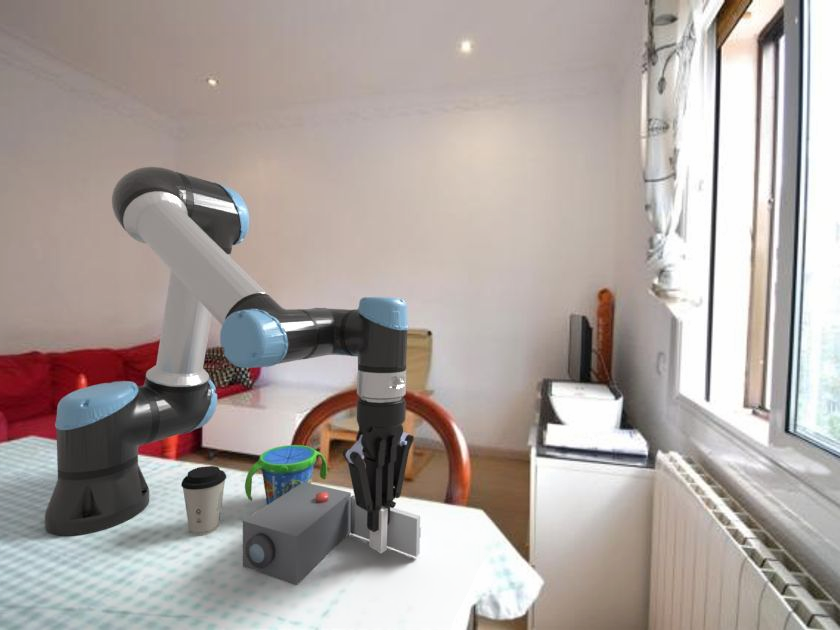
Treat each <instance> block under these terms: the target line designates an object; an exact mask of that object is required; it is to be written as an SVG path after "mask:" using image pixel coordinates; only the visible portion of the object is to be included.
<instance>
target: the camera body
mask: <svg viewBox="0 0 840 630" xmlns="http://www.w3.org/2000/svg"><path fill="white" fill-rule="evenodd" d="M351 496H352V493H351V492H349V491H345V490H341V489H337V488H332V487H327V486H323V485H319V484H315V483H311V484H310V483H306V482H303V483H301V484H299V485H298V486H296V487H295V488H293V489H292V490H290V491H289V492H287V493H285V494H284V495H282V496H281V497H279V498H278V499H276V500H274V501H273V502H271V503H270V504H268V505H267V504H266V505H265V506H264V507H261V508H260V509H259V510H257V511H256V512H254V513H253V514H250V515H249V516H248V517H246V518H244V519H243V520H242V568H246V569H248V570H251V571H255V572H256V573H257V572H258V573H260V574H263V575H265V576H269V577H271V578H274V579H277V580H281V581H282V582H287V583H289V584H291V585H294V586H298V585H299V584H300V583H301V582H302V581H303V580H304V579H305V578H306V577H307V576H308V575H309V574H310V573H311V572H312V571H313V570H314V569H315V568H316V567H317V566H318V565H319V564H320V563H321V562H322V561H323V560H324V559H325V558H326V557H328V555H330V553H332V551H333V550H335V548H336V547H338V546H339V544H340V543H342V541H344V540H345V539H346V538H347V536H349V534H351V533H350V521H351Z"/></svg>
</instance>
